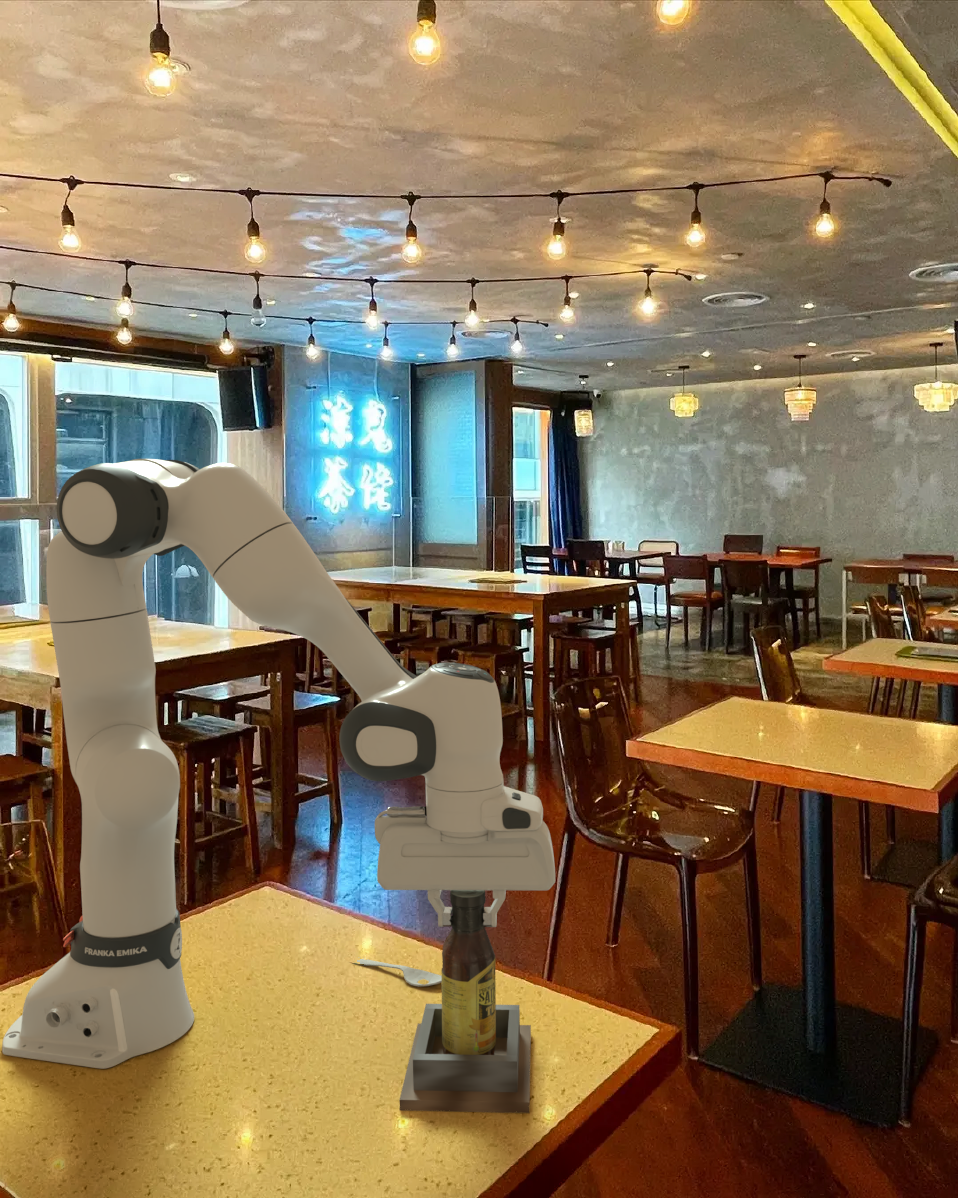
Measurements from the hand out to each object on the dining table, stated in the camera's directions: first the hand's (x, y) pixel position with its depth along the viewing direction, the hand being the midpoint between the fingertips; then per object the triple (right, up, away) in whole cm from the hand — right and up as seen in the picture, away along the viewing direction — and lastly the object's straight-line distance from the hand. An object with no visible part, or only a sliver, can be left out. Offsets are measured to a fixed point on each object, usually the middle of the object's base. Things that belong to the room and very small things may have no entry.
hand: (467, 925), depth 111 cm
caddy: (0, -17, +1) cm, 17 cm away
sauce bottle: (0, -16, +2) cm, 16 cm away
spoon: (-12, -16, +27) cm, 34 cm away
